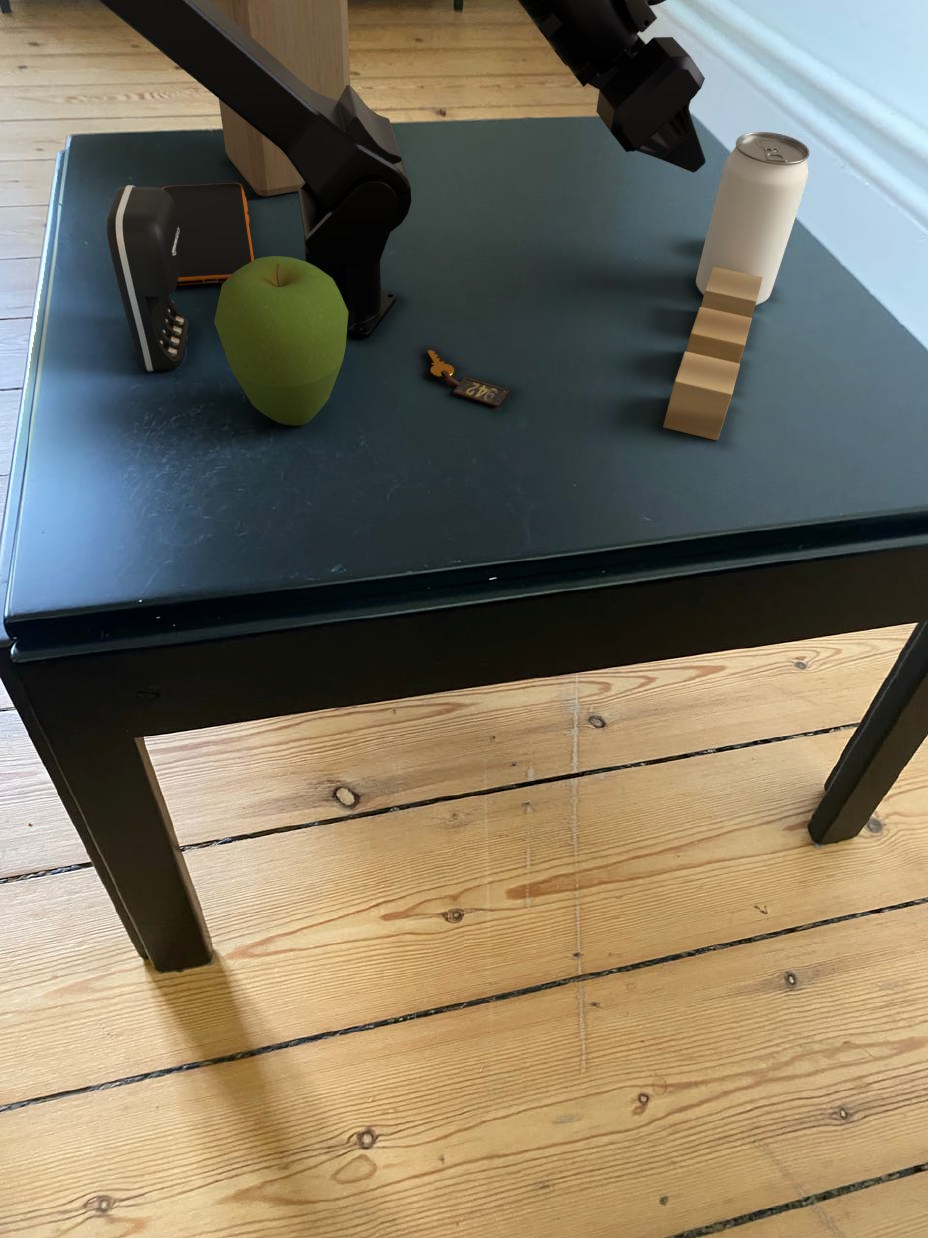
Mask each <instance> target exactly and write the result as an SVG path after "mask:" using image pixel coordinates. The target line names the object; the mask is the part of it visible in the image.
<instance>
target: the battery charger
mask: <svg viewBox="0 0 928 1238" xmlns="http://www.w3.org/2000/svg"><path fill="white" fill-rule="evenodd" d="M106 236H107V244H108V249H109V253H110V258H111V262H112V266H113V270H114V274H115V279H116V282H117V287H118V291H119V295H120V299H121V302H122V306H123V311H124V314H125V318H126V322H127V326H128V330H129V335H130V338H131V342H132V346H133V351H134V356H135V359H136V364H137V367H138V369H139V370H142V371H147V372H154V371H164V370H166V371H167V370H172V369H176V368H178V367H180V366H181V364H182V363H183V361H184V358H185V353H186V348H187V344H188V340H189V339H188V338H189V333H190V323H189V320H188V319H187V318H185V317H184V315H183V314H182V312H181V311H180V310H179V309H178V308H177V307H176V305H175V304H174V302H173V300H172V299H171V297H170V295H172V294H174V293H175V292H176V289H177V286H178V285H177V282H178V278H179V274H180V269H181V265H182V261H183V257H184V253H185V247H184V242H183V237H182V232H181V228H180V223H179V219H178V215H177V211H176V207H175V204H174V201H173V199H172V197H171V196H170V194H169V193H168V192H167V191H165V190H163V189H162V188H161V187H153V186H151V187H148V186H147V187H146V186H145V187H144V186H135V185H133V184H132V185H131V184H130V185H129V184H128V185H126V186H121V187H119V188H118V189H117V190H116V192H115V195H114V198H113V200H112V202H111V206H110V209H109V212H108V215H107V219H106Z"/></svg>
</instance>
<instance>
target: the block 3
mask: <svg viewBox="0 0 928 1238" xmlns="http://www.w3.org/2000/svg"><path fill="white" fill-rule="evenodd" d="M740 367H741V363H734V362H730V361H725V360H721V359H717V358H712V357H708V356H704V355H699V354H695V353H690V352H686V351H684V353H683V355H682V359H681V362H680V365H679V368H678V371H677V373H676V375H675V379H674V382H673V387H672V390H671V395H670V398H669V402H668V405H667V410H666V414H665V418H664V422H663V425H662V427H663V428H664V429H668V430H673V431H676V432H681V433H684V434H688V435H692V436H697V437H701V438H704V439H709V440H714V441H719V438H720V435H721V432H722V429H723V426H724V422H725V420H726V416H727V414H728V409H729V406H730V403H731V400H732V396H733V394H734V389H735V386H736V381H737V379H738V375H739V374H738V373H739V371H740Z"/></svg>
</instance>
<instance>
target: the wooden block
mask: <svg viewBox="0 0 928 1238" xmlns="http://www.w3.org/2000/svg"><path fill="white" fill-rule="evenodd" d="M210 1H211V2H213V3H214V4H215V5H216V6H217V7H218V8H219V9H221V10H222V11H223V12H224V13H225V14H226V15H227V16H228V17H230V18H231V19H232V20H233V21H234V22H235V23H236V24H237V25H239V26H240V27H241V28H242V29H243V30H244V31H245V32H246V33H248V34H249V35H250V36H251V37H252V38H253V39H254V40H255V41H257V42H258V43H259V44H260V45H261V46H262V47H263V48H265V49H266V50H267V51H268V52H269V53H270V54H271V55H272V56H274V57H275V58H276V59H277V60H278V61H279V62H280V63H281V64H283V65H284V66H285V67H286V68H287V69H288V70H289V71H290V72H292V73H293V74H294V75H295V76H296V77H297V78H298V79H300V80H301V81H302V82H303V83H304V84H305V85H306V86H307V87H309V88H310V89H312V90H313V91H315V92H317V93H319V94H322V95H324V96H327V97H329V98H332V99H334V100H337V101H338V100H339V98H340V96H341V95H342V93H343V91H344V89H345V87H346V86H347V85H350V86H351V65H350V63H351V62H350V39H349V37H350V36H349V11H348V9H349V8H348V0H210ZM218 104H219V110H220V111H219V112H220V118H221V127H222V133H223V134H222V135H223V139H224V140H223V141H224V149H225V153H226V155H227V157H228V159H229V160H230V161H231V163H232V164H233V166H234V167H235V168H236V169H237V170H238V171H239V174H241V175H242V177H243V178H244V179H245V180H246V182H247V183H248V184H249V186H250V187H251V188H252V190H253V191H254V193H256V195H258V196H263V197H270V196H276V195H281V194H287V193H292V192H298V187H299V186H300V185H301V184H302V183H303V182H304V180H303V178H302V177H301V176H300V174H299V173H298V171H297V170H296V168H295V167H294V166H293V164H292V163H291V161H290V160H289V159H288V157H287V156H286V155H285V154H284V152H283V151H282V150H281V149H280V148H279V147H277V146H276V145H275V144H274V143H272V142H271V141H270V140H269V139H268V138H266V137H265V136H264V135H263V134H261V133H260V132H259V131H258V130H257V129H255V128H254V127H253V126H252V125H250V124H249V123H248V122H247V121H246V120H244V119H243V118H242V117H241V116H239V115H238V114H237V113H236V112H235V111H233V110H232V109H231V108H230V107H228V106H227V105H226V104H225V103H224V102H222V101H221V100H220V99H219V98H218Z"/></svg>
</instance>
